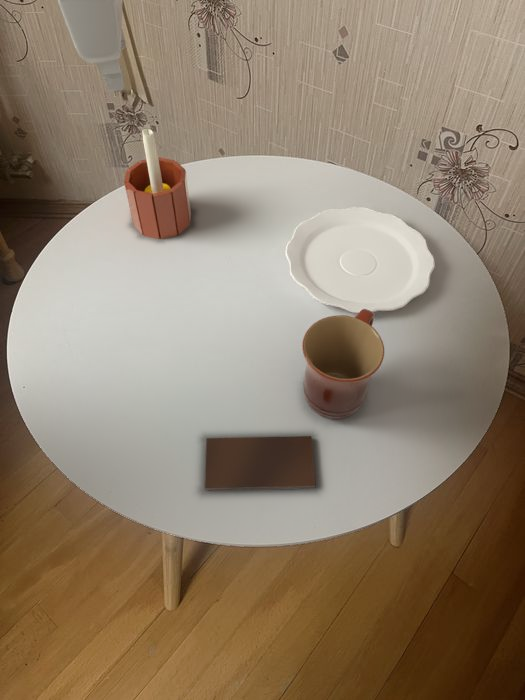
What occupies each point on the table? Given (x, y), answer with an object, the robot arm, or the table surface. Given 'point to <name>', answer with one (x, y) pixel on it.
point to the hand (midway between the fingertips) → (117, 66)
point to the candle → (153, 163)
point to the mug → (340, 363)
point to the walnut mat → (259, 463)
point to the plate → (360, 259)
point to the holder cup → (158, 200)
